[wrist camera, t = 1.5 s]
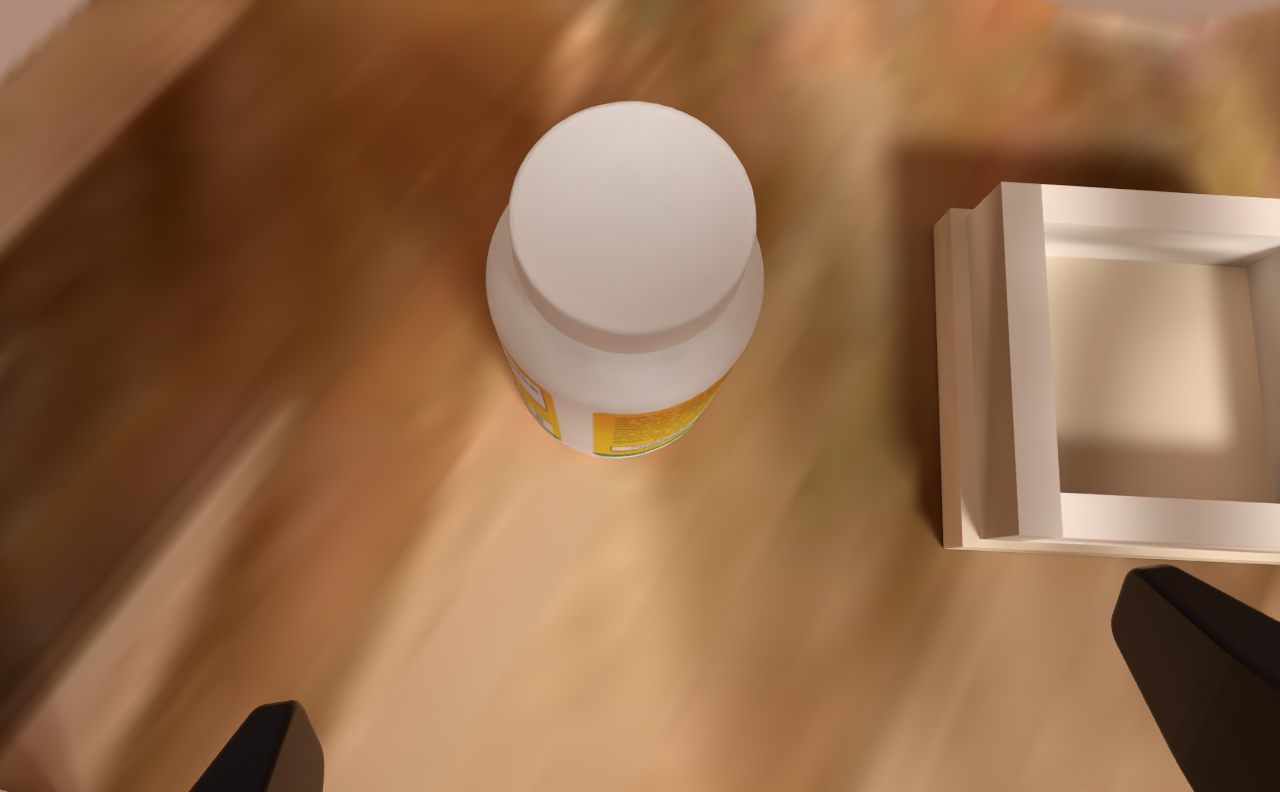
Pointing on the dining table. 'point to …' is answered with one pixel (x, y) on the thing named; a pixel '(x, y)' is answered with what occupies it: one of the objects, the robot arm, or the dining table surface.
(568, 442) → the supplement bottle
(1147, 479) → the candle holder
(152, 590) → the dining table surface
